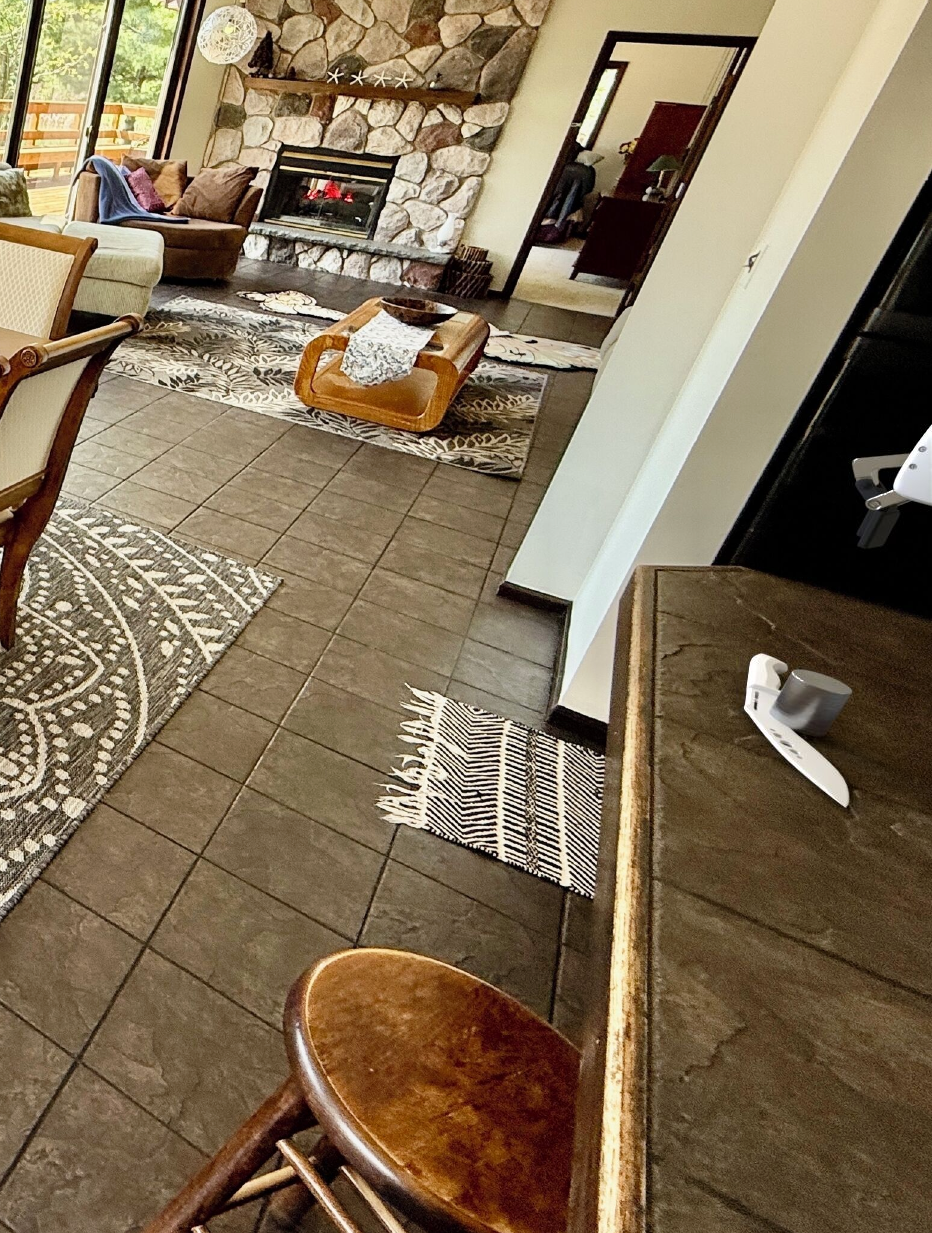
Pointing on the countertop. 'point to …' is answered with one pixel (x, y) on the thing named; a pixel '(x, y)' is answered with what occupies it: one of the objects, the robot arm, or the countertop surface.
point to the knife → (807, 758)
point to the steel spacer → (810, 702)
